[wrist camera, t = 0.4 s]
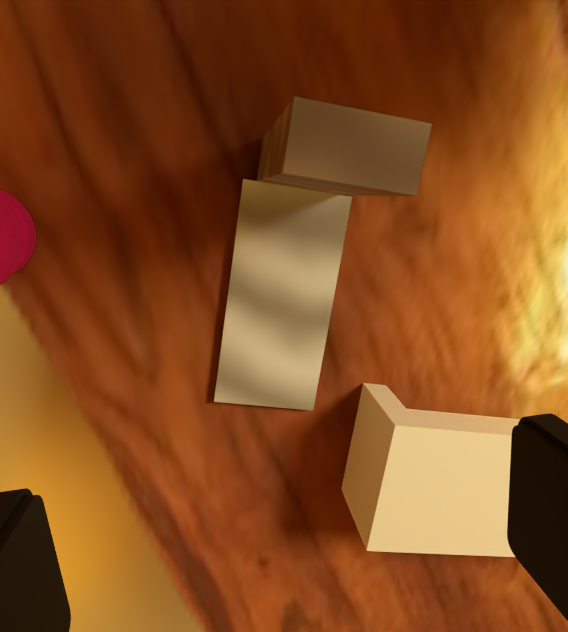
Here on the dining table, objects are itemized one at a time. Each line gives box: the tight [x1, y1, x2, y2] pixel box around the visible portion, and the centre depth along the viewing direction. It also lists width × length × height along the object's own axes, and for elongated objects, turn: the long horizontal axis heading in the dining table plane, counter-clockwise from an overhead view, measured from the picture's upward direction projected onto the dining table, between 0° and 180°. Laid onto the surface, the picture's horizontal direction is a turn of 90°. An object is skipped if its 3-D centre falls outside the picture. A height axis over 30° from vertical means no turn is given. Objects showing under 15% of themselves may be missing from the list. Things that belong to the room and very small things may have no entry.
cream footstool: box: [341, 383, 520, 557], centre depth 39 cm, size 10×26×8 cm, turn 81°
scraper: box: [214, 96, 432, 410], centre depth 29 cm, size 20×8×15 cm, turn 171°
